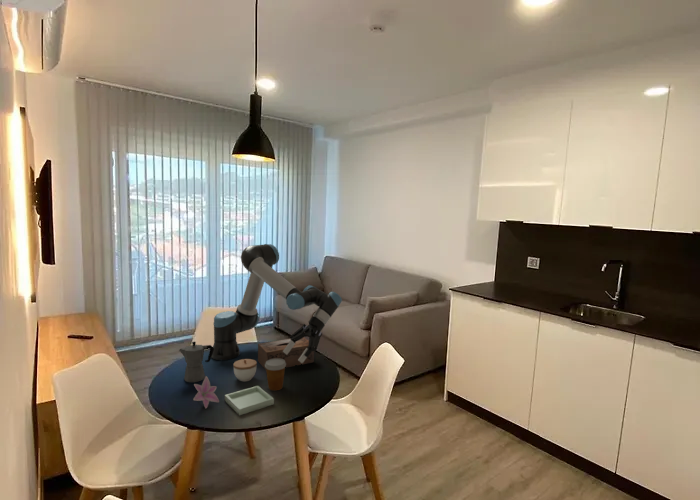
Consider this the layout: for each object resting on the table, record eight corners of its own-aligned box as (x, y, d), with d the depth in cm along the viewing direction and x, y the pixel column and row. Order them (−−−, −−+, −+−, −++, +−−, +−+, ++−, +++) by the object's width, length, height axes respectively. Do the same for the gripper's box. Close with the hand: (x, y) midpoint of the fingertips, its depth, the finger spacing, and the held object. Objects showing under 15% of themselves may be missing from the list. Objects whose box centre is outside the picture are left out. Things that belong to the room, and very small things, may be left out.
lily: (188, 415, 156) (198, 396, 154) (182, 393, 164) (192, 375, 162) (216, 414, 163) (226, 397, 161) (209, 393, 172) (219, 376, 170)
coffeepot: (178, 384, 180) (177, 346, 178) (180, 376, 189) (179, 339, 187) (214, 380, 185) (213, 343, 183) (214, 372, 194) (213, 336, 192)
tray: (224, 400, 165) (224, 395, 165) (257, 391, 175) (257, 385, 175) (239, 415, 154) (239, 409, 154) (273, 404, 163) (273, 398, 163)
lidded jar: (228, 380, 185) (228, 361, 184) (244, 372, 195) (244, 354, 194) (246, 385, 180) (245, 365, 179) (261, 377, 190) (261, 358, 189)
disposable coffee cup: (273, 394, 172) (273, 367, 171) (260, 387, 178) (260, 362, 177) (290, 387, 179) (290, 361, 178) (277, 381, 185) (277, 356, 184)
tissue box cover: (302, 353, 222) (303, 336, 221) (313, 362, 209) (313, 344, 208) (258, 362, 209) (257, 343, 208) (266, 371, 197) (266, 352, 196)
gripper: (339, 330, 182) (312, 370, 174) (309, 319, 201) (283, 353, 194) (329, 321, 178) (301, 361, 170) (300, 310, 198) (274, 345, 190)
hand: (292, 357), depth 182 cm, fingers open, 13 cm apart
